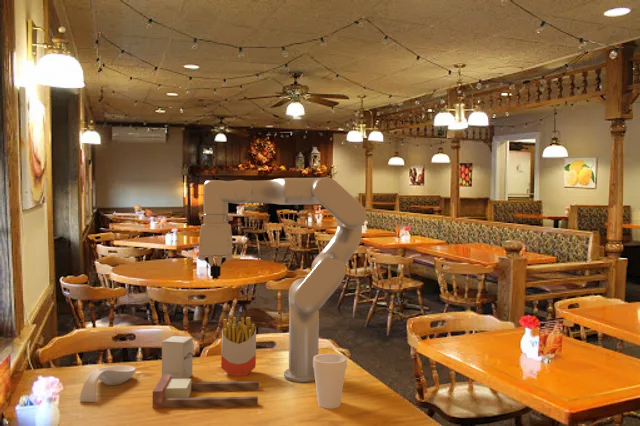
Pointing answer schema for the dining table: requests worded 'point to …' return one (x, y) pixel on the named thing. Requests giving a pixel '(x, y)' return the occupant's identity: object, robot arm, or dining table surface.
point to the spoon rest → (105, 380)
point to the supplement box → (177, 357)
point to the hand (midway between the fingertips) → (215, 278)
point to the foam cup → (329, 378)
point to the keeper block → (178, 388)
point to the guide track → (163, 402)
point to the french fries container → (238, 347)
